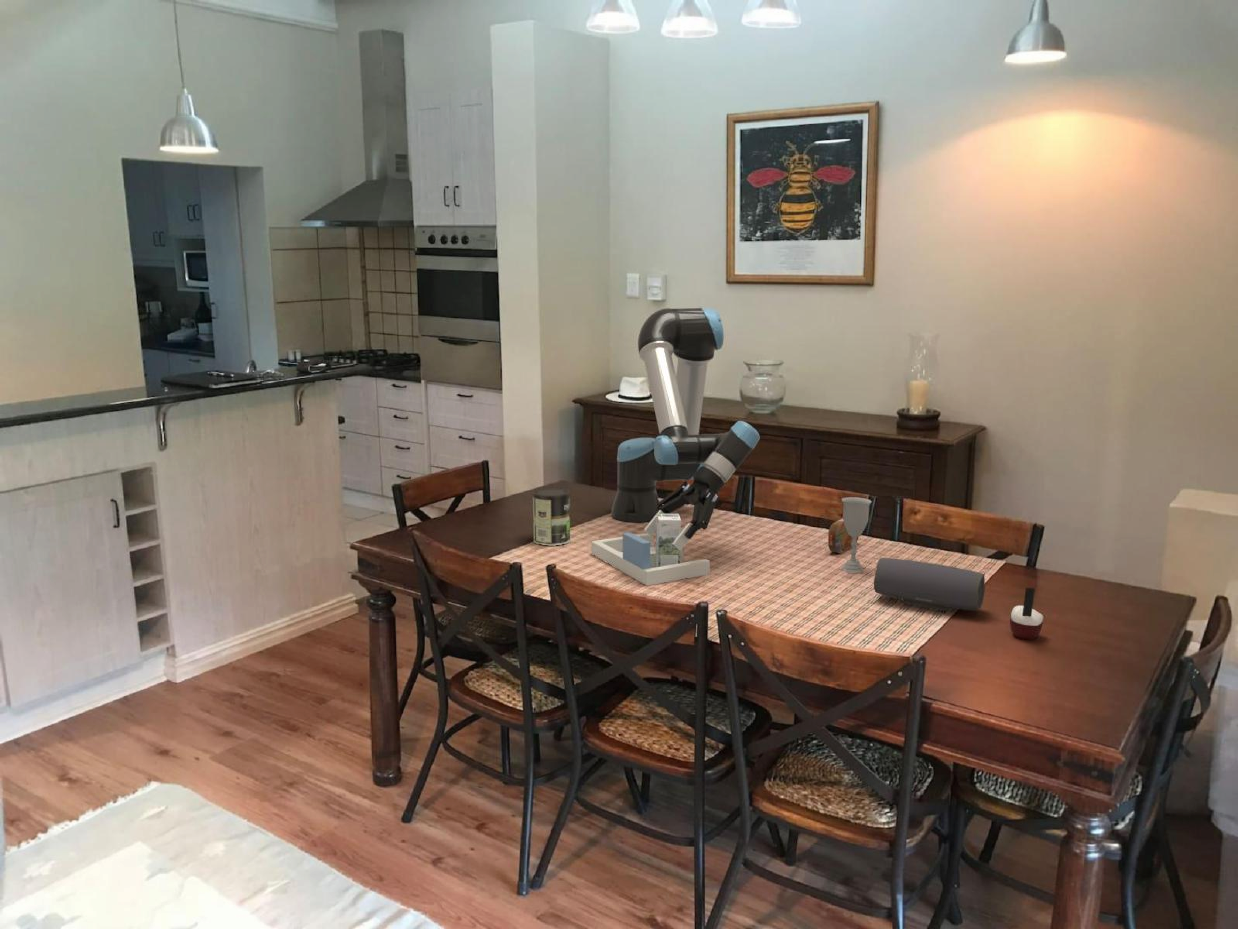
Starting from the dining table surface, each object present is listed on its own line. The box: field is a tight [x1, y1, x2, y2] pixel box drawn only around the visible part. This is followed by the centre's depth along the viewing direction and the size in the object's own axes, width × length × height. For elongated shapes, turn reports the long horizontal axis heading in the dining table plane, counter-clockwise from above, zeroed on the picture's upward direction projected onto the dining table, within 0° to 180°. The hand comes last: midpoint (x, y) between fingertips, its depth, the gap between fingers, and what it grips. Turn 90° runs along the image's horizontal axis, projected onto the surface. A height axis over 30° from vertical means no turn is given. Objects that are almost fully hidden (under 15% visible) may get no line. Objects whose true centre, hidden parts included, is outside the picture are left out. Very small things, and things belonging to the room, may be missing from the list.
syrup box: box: [655, 513, 682, 567], centre depth 246 cm, size 6×6×14 cm
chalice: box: [841, 496, 872, 574], centre depth 248 cm, size 7×7×18 cm
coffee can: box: [532, 487, 571, 547], centre depth 272 cm, size 10×10×14 cm
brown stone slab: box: [827, 517, 859, 554], centre depth 266 cm, size 15×3×8 cm, turn 143°
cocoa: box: [1009, 587, 1044, 641], centre depth 205 cm, size 10×6×12 cm, turn 137°
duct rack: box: [590, 531, 711, 587], centre depth 252 cm, size 29×18×10 cm, turn 29°
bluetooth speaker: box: [873, 557, 986, 612], centre depth 223 cm, size 23×9×10 cm, turn 59°
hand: (661, 540), depth 245 cm, fingers open, 13 cm apart
